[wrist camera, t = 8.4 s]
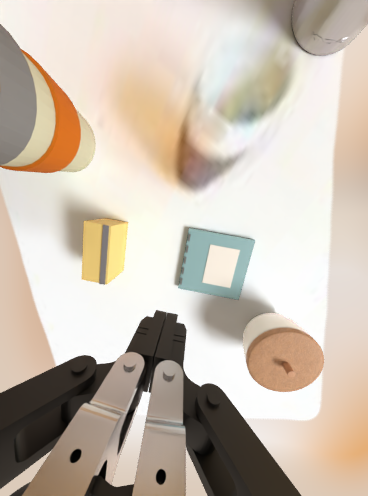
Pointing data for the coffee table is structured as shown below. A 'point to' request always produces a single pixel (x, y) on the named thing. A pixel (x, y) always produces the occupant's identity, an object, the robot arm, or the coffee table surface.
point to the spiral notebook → (215, 263)
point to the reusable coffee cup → (38, 117)
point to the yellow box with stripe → (103, 249)
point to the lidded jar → (281, 353)
